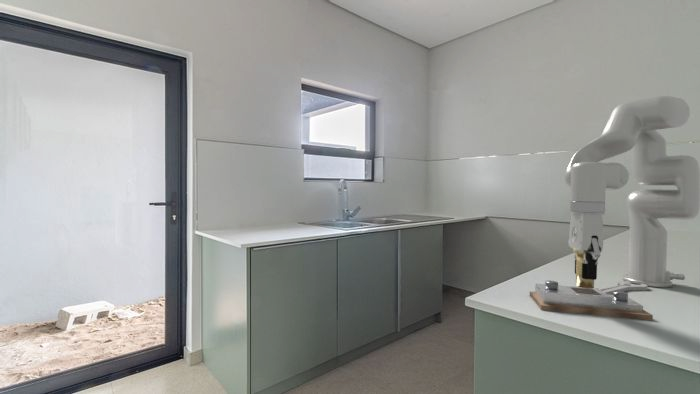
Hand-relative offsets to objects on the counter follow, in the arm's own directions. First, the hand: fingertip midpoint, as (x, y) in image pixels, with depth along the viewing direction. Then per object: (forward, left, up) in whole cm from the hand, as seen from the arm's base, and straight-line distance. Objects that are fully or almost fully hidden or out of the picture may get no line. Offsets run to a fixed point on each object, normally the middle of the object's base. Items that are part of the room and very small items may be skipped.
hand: (585, 276), depth 88 cm
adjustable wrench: (-15, -19, -9) cm, 26 cm away
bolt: (0, 0, -3) cm, 3 cm away
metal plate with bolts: (0, 0, -7) cm, 7 cm away
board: (0, 0, -8) cm, 8 cm away
